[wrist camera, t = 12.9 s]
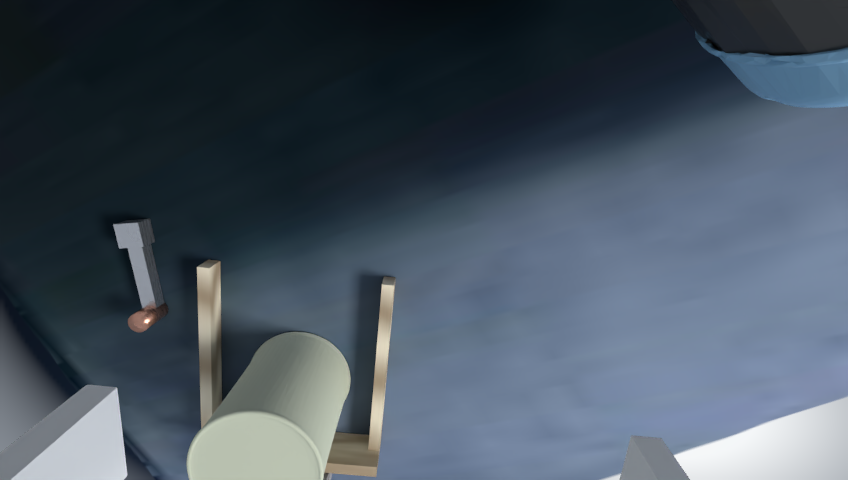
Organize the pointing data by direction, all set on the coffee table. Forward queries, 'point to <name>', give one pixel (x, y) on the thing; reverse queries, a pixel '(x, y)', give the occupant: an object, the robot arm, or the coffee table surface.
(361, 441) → the wooden frame
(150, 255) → the crank handle
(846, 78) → the robot arm
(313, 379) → the can
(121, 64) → the coffee table surface
